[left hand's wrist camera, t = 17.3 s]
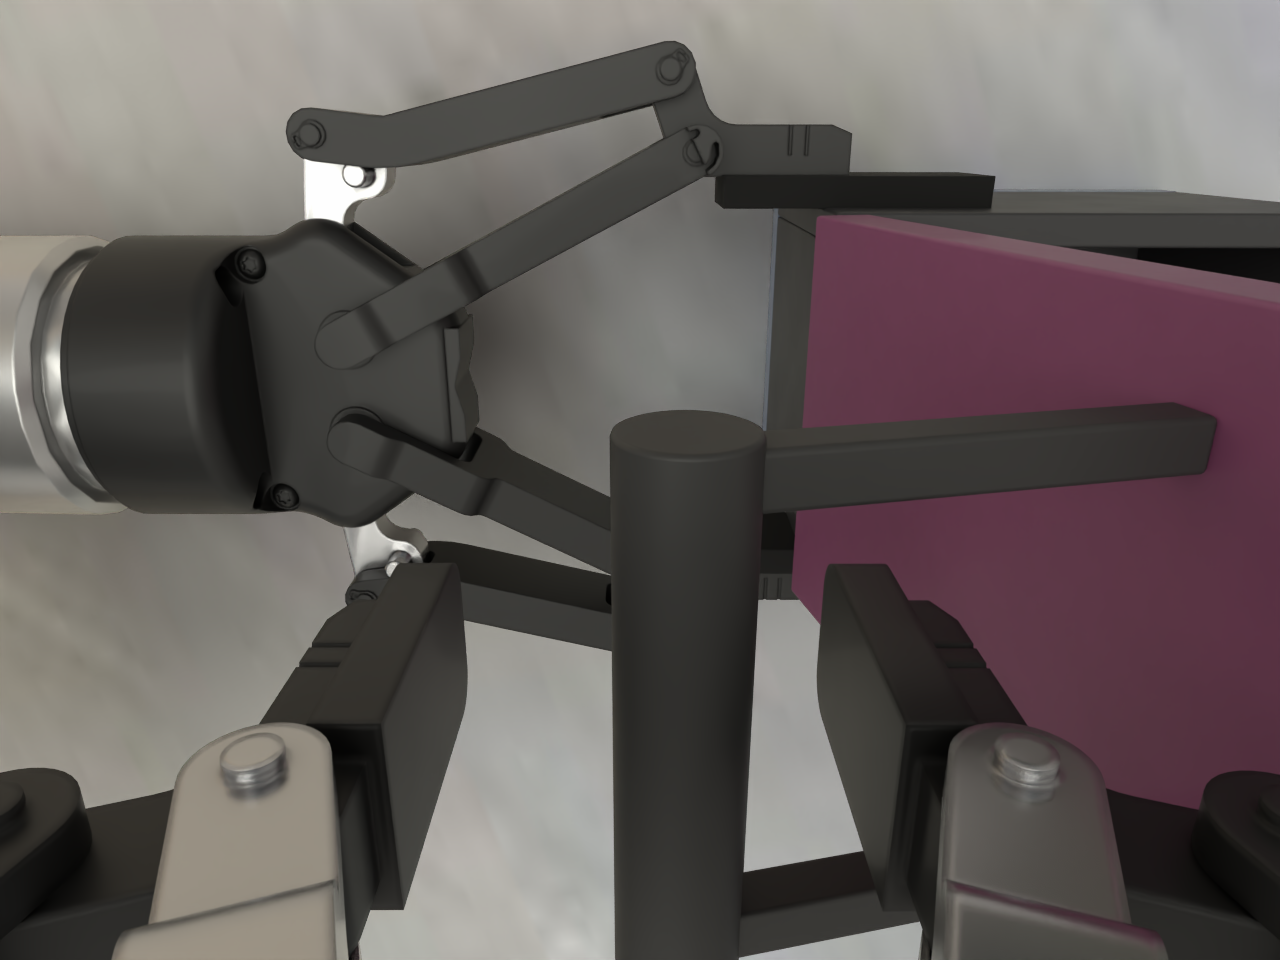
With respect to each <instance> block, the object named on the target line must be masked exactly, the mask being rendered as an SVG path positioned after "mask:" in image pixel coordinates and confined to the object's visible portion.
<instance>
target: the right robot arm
mask: <svg viewBox="0 0 1280 960" xmlns="http://www.w3.org/2000/svg"><path fill="white" fill-rule="evenodd" d="M650 106H653V107H654V111H655V114H656V117H657V120H658V123H659V126H660V129H661V132H662V135H663V139H661V140H659V141H657V142H656V143H654V144H652V145H650V146H648V147H646V148H645V149H643V150H641V151H639V152H637V153H635V154H634V155H632V156H630V157H628V158H626V159H625V160H623V161H621V162H619V163H617V164H615V165H614V166H612V167H610V168H608V169H606V170H604V171H603V172H601V173H599V174H597V175H595V176H594V177H592V178H590V179H588V180H586V181H584V182H583V183H581V184H579V185H577V186H575V187H573V188H572V189H570V190H568V191H566V192H564V193H563V194H561V195H559V196H557V197H555V198H553V199H552V200H550V201H548V202H546V203H544V204H542V205H541V206H539V207H537V208H535V209H533V210H532V211H530V212H528V213H526V214H524V215H522V216H521V217H519V218H517V219H515V220H513V221H511V222H510V223H508V224H506V225H504V226H502V227H500V228H499V229H497V230H495V231H493V232H491V233H490V234H488V235H486V236H484V237H482V238H480V239H479V240H477V241H475V242H473V243H471V244H469V245H467V246H465V247H464V248H462V249H460V250H458V251H456V252H455V253H453V254H451V255H449V256H447V257H445V258H444V259H442V260H440V261H438V262H436V263H434V264H433V265H431V266H429V267H427V268H425V269H422V268H420V267H419V266H417V265H416V264H415V263H413V262H412V261H410V260H409V259H407V258H406V257H404V256H403V255H402V254H400V253H399V252H397V251H396V250H394V249H393V248H391V247H390V246H389V245H387V244H386V243H384V242H383V241H381V240H380V239H379V238H377V237H376V236H374V235H373V234H371V233H370V232H369V231H367V230H366V229H364V228H363V227H361V226H360V225H358V224H357V223H355V222H354V215H355V211H356V209H357V207H358V205H359V204H360V203H361V202H362V201H364V200H366V199H369V198H374V197H379V196H382V195H384V194H386V193H388V192H389V191H390V189H391V188H392V187H393V185H394V182H395V177H396V167H404V166H413V165H422V164H427V163H432V162H437V161H442V160H446V159H449V158H453V157H457V156H461V155H465V154H469V153H473V152H476V151H480V150H484V149H488V148H492V147H496V146H499V145H503V144H507V143H511V142H515V141H519V140H523V139H526V138H530V137H534V136H538V135H542V134H546V133H550V132H553V131H557V130H561V129H565V128H569V127H573V126H577V125H580V124H584V123H588V122H592V121H596V120H600V119H604V118H607V117H611V116H615V115H619V114H623V113H627V112H631V111H634V110H638V109H642V108H646V107H650ZM286 135H287V140H288V143H289V145H290V146H291V148H292V150H293V151H294V152H295V153H296V154H297V155H299V156H300V157H301V158H303V159H304V211H305V220H304V221H301V222H299V223H297V224H295V225H294V226H292V227H290V228H289V229H287V230H286V231H284V232H282V233H280V234H278V235H269V236H125V237H122V238H119V239H116V240H114V241H112V242H108V241H105V240H103V239H100V238H97V237H94V236H91V235H89V236H0V513H39V514H91V515H104V514H111V513H119V512H121V511H123V510H125V509H127V508H130V509H132V510H134V511H137V512H141V513H148V514H262V513H275V512H286V511H299V512H304V513H309V514H312V515H315V516H318V517H320V518H322V519H324V520H326V521H328V522H330V523H332V524H335V525H338V526H341V527H343V529H344V533H345V537H346V542H347V546H348V550H349V554H350V558H351V562H352V566H353V570H354V574H355V578H354V580H353V581H352V583H351V584H350V586H349V588H348V590H347V592H346V594H345V602H346V604H347V606H348V605H349V604H351V603H352V602H353V601H355V600H356V599H378V597H379V595H380V593H381V592H382V590H383V588H384V586H385V585H386V583H387V581H388V579H389V578H390V576H391V574H392V572H393V571H394V569H395V567H396V566H397V564H399V563H456V565H457V566H458V569H459V574H460V581H461V592H462V605H463V618H464V620H466V621H470V622H475V623H480V624H485V625H489V626H494V627H499V628H504V629H508V630H513V631H518V632H523V633H527V634H532V635H537V636H542V637H546V638H551V639H556V640H561V641H565V642H570V643H575V644H580V645H584V646H589V647H594V648H599V649H603V650H608V651H612V604H611V576H610V575H605V574H601V573H596V572H591V571H587V570H582V569H578V568H573V567H569V566H564V565H559V564H555V563H550V562H546V561H541V560H536V559H532V558H527V557H523V556H518V555H513V554H509V553H504V552H500V551H495V550H490V549H486V548H481V547H477V546H472V545H468V544H462V543H456V542H446V541H427V540H426V538H425V537H424V536H423V533H422V532H421V531H420V530H419V529H416V528H411V529H409V528H402V527H399V526H397V525H395V524H393V523H392V522H391V521H390V520H389V519H388V517H387V516H386V513H387V512H389V511H390V510H392V509H393V508H394V507H396V506H397V505H399V504H400V503H401V502H403V501H404V500H406V499H407V498H408V497H410V496H411V495H412V494H414V493H417V494H419V495H421V496H423V497H426V498H428V499H430V500H432V501H434V502H436V503H439V504H441V505H443V506H445V507H447V508H449V509H452V510H454V511H456V512H458V513H461V514H464V515H469V516H473V515H482V516H485V517H488V518H490V519H492V520H494V521H496V522H498V523H501V524H503V525H505V526H507V527H509V528H511V529H514V530H516V531H518V532H520V533H522V534H524V535H526V536H529V537H531V538H533V539H535V540H537V541H539V542H542V543H544V544H546V545H548V546H550V547H552V548H555V549H557V550H559V551H561V552H563V553H565V554H568V555H570V556H572V557H574V558H576V559H578V560H581V561H583V562H585V563H587V564H589V565H591V566H594V567H596V568H598V569H600V570H602V571H604V572H607V573H609V574H611V507H610V497H608V496H606V495H604V494H602V493H600V492H598V491H596V490H593V489H591V488H589V487H587V486H585V485H583V484H581V483H579V482H577V481H575V480H573V479H570V478H568V477H566V476H564V475H562V474H560V473H558V472H556V471H554V470H552V469H549V468H547V467H545V466H543V465H541V464H539V463H537V462H535V461H533V460H531V459H529V458H526V457H524V456H522V455H520V454H518V453H516V452H514V451H512V450H511V449H510V448H509V447H508V446H507V445H506V443H505V442H504V441H502V440H501V439H499V438H498V437H496V436H494V435H492V434H490V433H488V432H485V431H483V430H481V429H479V428H477V427H476V425H477V424H478V422H479V410H478V395H477V393H476V390H475V387H474V384H473V381H472V378H471V375H470V372H469V363H470V359H471V354H472V349H473V344H474V333H473V317H472V315H467V313H466V310H465V308H464V306H466V305H468V304H470V303H472V302H473V301H475V300H477V299H478V298H480V297H482V296H483V295H485V294H486V293H488V292H490V291H492V290H493V289H495V288H497V287H499V286H501V285H503V284H505V283H506V282H508V281H510V280H512V279H514V278H516V277H518V276H519V275H521V274H523V273H525V272H527V271H529V270H531V269H533V268H534V267H536V266H538V265H540V264H542V263H544V262H546V261H547V260H549V259H551V258H553V257H555V256H557V255H559V254H560V253H562V252H564V251H566V250H568V249H570V248H572V247H574V246H575V245H577V244H579V243H581V242H583V241H585V240H587V239H588V238H590V237H592V236H594V235H596V234H598V233H600V232H602V231H603V230H605V229H607V228H609V227H611V226H613V225H615V224H616V223H618V222H620V221H622V220H624V219H626V218H628V217H630V216H631V215H633V214H635V213H637V212H639V211H641V210H643V209H644V208H646V207H648V206H650V205H652V204H654V203H656V202H657V201H659V200H661V199H663V198H665V197H667V196H669V195H671V194H672V193H674V192H676V191H678V190H680V189H682V188H684V187H685V186H687V185H689V184H691V183H693V182H695V181H697V180H699V179H700V178H702V177H716V180H715V202H716V203H717V204H719V205H720V206H721V207H722V208H724V209H825V208H991V206H992V198H993V191H994V183H995V176H989V175H979V174H969V173H959V172H849V166H850V154H851V141H852V133H850V132H848V131H845V130H843V129H841V128H839V127H836V126H834V125H736V124H728V123H726V122H724V121H721V120H720V119H719V118H717V117H716V116H715V115H714V114H713V113H712V111H711V110H710V109H709V107H708V104H707V102H706V99H705V96H704V93H703V90H702V87H701V83H700V80H699V77H698V74H697V70H696V62H695V60H694V57H693V55H692V52H691V51H690V50H689V49H688V48H687V47H686V46H685V45H683V44H681V43H679V42H676V41H664V42H660V43H657V44H653V45H649V46H645V47H641V48H638V49H634V50H630V51H626V52H623V53H619V54H615V55H611V56H608V57H604V58H600V59H596V60H592V61H589V62H585V63H581V64H577V65H574V66H570V67H566V68H562V69H558V70H555V71H551V72H547V73H543V74H540V75H536V76H532V77H528V78H525V79H521V80H517V81H513V82H509V83H506V84H502V85H498V86H494V87H491V88H487V89H483V90H479V91H476V92H472V93H468V94H464V95H460V96H457V97H453V98H449V99H445V100H442V101H438V102H434V103H430V104H426V105H423V106H419V107H415V108H411V109H408V110H404V111H400V112H396V113H393V114H389V115H385V116H381V115H373V114H365V113H357V112H349V111H340V110H330V109H320V108H301V109H299V110H298V111H296V112H294V113H293V114H292V116H291V117H290V119H289V120H288V122H287V128H286ZM794 543H795V534H794V532H793V529H792V527H791V524H790V522H789V519H788V516H787V514H786V512H780V513H769V514H763V520H762V539H761V557H760V576H759V594H758V600H763V599H766V600H777V599H780V600H799V598H798V597H797V596H796V595H795V594H794V592H793V591H792V589H791V586H792V572H793V557H794Z"/></svg>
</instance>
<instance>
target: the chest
mask: <svg viewBox="0 0 1280 960" xmlns="http://www.w3.org/2000/svg"><path fill="white" fill-rule="evenodd" d="M828 215H873V216H879V217H885V218H891V219H897V220H903V221H909V222H915V223H921V224H927V225H933V226H939V227H945V228H950V229H956V230H962V231H968V232H974V233H980V234H986V235H992V236H998V237H1004V238H1010V239H1016V240H1022V241H1028V242H1034V243H1040V244H1046V245H1052V246H1058V247H1064V248H1070V249H1076V250H1082V251H1088V252H1094V253H1100V254H1106V255H1112V256H1118V257H1124V258H1130V259H1136V260H1142V261H1148V262H1154V263H1160V264H1166V265H1172V266H1178V267H1184V268H1190V269H1196V270H1202V271H1208V272H1214V273H1220V274H1226V275H1232V276H1238V277H1244V278H1250V279H1256V280H1262V281H1268V282H1274V283H1280V202H1271V201H1261V200H1251V199H1240V198H1230V197H1220V196H1210V195H1200V194H1189V193H1179V192H1175V191H1165V190H994V191H993V198H992V206H991V208H825V209H774V214H773V234H772V253H771V272H770V291H769V310H768V329H767V349H766V368H765V387H764V406H763V425H762V429H763V431H769V430H783V429H798V428H802V426H803V411H804V397H805V382H806V368H807V353H808V339H809V324H810V309H811V295H812V280H813V266H814V251H815V237H816V222H817V217H819V216H828ZM786 514H787V516H788V519H789V522H790V524H791V527H792V529H793V532H794V534H795V528H796V514H797V511H791V512H786Z"/></svg>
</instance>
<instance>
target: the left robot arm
mask: <svg viewBox="0 0 1280 960" xmlns="http://www.w3.org/2000/svg"><path fill="white" fill-rule="evenodd" d="M299 663H300V665H299V667H296V668H295V670H294V671H293V673H292V674H291V676H290V677H289V679H288V681H287V682H286V684H285V685H284V687H283V688H282V690H281V691H280V693H279V694H278V696H277V697H276V699H275V701H274V702H273V704H272V705H271V707H270V708H269V710H268V711H267V713H266V714H265V716H264V717H263V719H262V720H261V722H260V724H259V725H255V726H251V727H246V728H243V729H240V730H237V731H234V732H231V733H229V734H227V735H224V736H222V737H220V738H218V739H216V740H214V741H212V742H210V743H209V744H207V745H206V746H204V747H203V748H201V749H200V750H199V751H197V752H196V753H195V754H194V755H193V756H192V757H190V758H189V760H188V761H187V762H186V763H185V764H184V765H183V767H182V768H181V770H180V772H179V773H178V776H177V779H176V782H175V786H174V789H173V790H170V791H166V792H162V793H158V794H154V795H150V796H145V797H140V798H135V799H131V800H126V801H121V802H116V803H112V804H107V805H102V806H97V807H92V808H88V809H85V805H84V802H83V798H82V794H81V791H80V787H79V785H78V783H77V781H76V780H75V779H74V778H73V777H72V776H71V775H69V774H67V773H65V772H63V771H59V770H56V769H49V768H26V769H17V770H12V771H7V772H2V773H0V960H362V957H361V950H360V943H359V940H360V938H361V935H362V932H363V929H364V926H365V924H366V921H367V918H368V915H369V912H370V910H404V907H405V904H406V900H407V897H408V894H409V890H410V887H411V884H412V881H413V877H414V874H415V871H416V868H417V864H418V861H419V858H420V855H421V851H422V848H423V845H424V842H425V838H426V835H427V832H428V829H429V825H430V822H431V819H432V816H433V812H434V809H435V806H436V803H437V799H438V796H439V793H440V790H441V786H442V783H443V780H444V776H445V773H446V770H447V767H448V763H449V760H450V757H451V754H452V750H453V747H454V744H455V741H456V737H457V734H458V731H459V728H460V724H461V721H462V718H463V714H464V710H465V704H466V696H467V678H468V674H467V656H466V643H465V631H464V618H463V605H462V592H461V581H460V574H459V569H458V566H457V565H456V563H399V564H397V566H396V567H395V569H394V571H393V572H392V574H391V576H390V578H389V579H388V581H387V583H386V585H385V586H384V588H383V590H382V592H381V593H380V595H379V597H378V599H356V600H355V601H353V602H352V603H351V604H349V605H348V606H346V607H345V608H343V609H342V610H340V611H339V612H337V613H336V614H335V615H333V616H332V617H330V618H329V619H327V621H326V622H325V624H324V625H323V627H322V628H321V630H320V631H319V633H318V634H317V636H316V638H315V639H314V641H313V642H312V647H309V648H308V650H307V651H306V653H305V654H304V656H303V658H302V659H301V661H300V662H299ZM817 692H818V702H819V708H820V713H821V717H822V720H823V723H824V726H825V730H826V733H827V736H828V739H829V742H830V746H831V749H832V752H833V755H834V758H835V761H836V765H837V768H838V771H839V774H840V777H841V781H842V784H843V787H844V790H845V793H846V796H847V800H848V803H849V806H850V809H851V812H852V816H853V819H854V822H855V825H856V828H857V831H858V835H859V838H860V841H861V844H862V847H863V851H864V854H865V857H866V860H867V863H868V866H869V870H870V873H871V876H872V879H873V882H874V886H875V889H876V892H877V895H878V898H879V901H880V905H881V908H882V911H916V912H917V915H918V918H919V920H920V923H921V926H922V929H923V930H922V937H921V943H920V950H919V957H918V960H1280V775H1279V774H1274V773H1269V772H1261V771H1244V770H1239V771H1231V772H1226V773H1223V774H1219V775H1217V776H1215V777H1214V778H1212V779H1211V780H1210V781H1209V782H1208V783H1207V784H1206V786H1205V789H1204V791H1203V795H1202V798H1201V802H1200V806H1199V810H1197V809H1193V808H1188V807H1183V806H1178V805H1173V804H1169V803H1164V802H1159V801H1154V800H1150V799H1145V798H1140V797H1135V796H1131V795H1127V794H1123V793H1119V792H1116V791H1113V790H1110V789H1107V788H1106V786H1105V782H1104V779H1103V776H1102V773H1101V772H1100V770H1099V768H1098V767H1097V765H1096V764H1095V763H1094V762H1093V761H1092V760H1091V758H1090V757H1088V756H1087V755H1086V754H1085V753H1084V752H1083V751H1081V750H1080V749H1079V748H1077V747H1076V746H1074V745H1073V744H1071V743H1070V742H1068V741H1066V740H1064V739H1062V738H1060V737H1058V736H1056V735H1053V734H1051V733H1049V732H1046V731H1043V730H1040V729H1037V728H1034V727H1029V726H1028V725H1027V724H1026V722H1025V721H1024V719H1023V718H1022V716H1021V715H1020V713H1019V712H1018V710H1017V709H1016V707H1015V706H1014V704H1013V703H1012V701H1011V700H1010V698H1009V697H1008V695H1007V694H1006V692H1005V691H1004V689H1003V688H1002V686H1001V685H1000V683H999V682H998V680H997V678H996V677H995V675H994V674H993V672H992V671H991V669H990V668H987V667H986V662H985V660H984V659H983V657H982V656H981V654H980V653H979V651H978V650H977V648H974V647H973V642H972V641H971V639H970V638H969V636H968V635H967V633H966V632H965V630H964V629H963V627H962V626H961V624H960V623H959V621H958V620H957V619H955V618H954V617H952V616H951V615H949V614H948V613H947V612H945V611H944V610H942V609H941V608H939V607H938V606H936V605H935V604H933V603H932V602H930V601H929V600H908V599H907V597H906V595H905V594H904V592H903V590H902V588H901V587H900V585H899V583H898V582H897V580H896V578H895V576H894V575H893V573H892V571H891V569H890V568H889V566H888V565H887V564H829V565H828V567H827V569H826V573H825V578H824V588H823V601H822V613H821V625H820V638H819V650H818V663H817Z"/></svg>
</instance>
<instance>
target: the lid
mask: <svg viewBox="0 0 1280 960" xmlns="http://www.w3.org/2000/svg"><path fill="white" fill-rule="evenodd" d="M610 507H611V604H612V700H613V796H614V892H615V960H739V957H744V956H749V955H754V954H759V953H764V952H769V951H774V950H779V949H784V948H789V947H794V946H799V945H804V944H809V943H814V942H819V941H824V940H829V939H834V938H839V937H844V936H849V935H854V934H859V933H864V932H869V931H874V930H879V929H884V928H889V927H894V926H899V925H904V924H909V923H914V922H919V921H920V920H919V918H918V915H917V912H916V911H882V908H881V905H880V901H879V898H878V895H877V892H876V889H875V886H874V882H873V879H872V876H871V873H870V870H869V866H868V863H867V860H866V857H865V854H864V851H860V852H855V853H849V854H844V855H838V856H833V857H827V858H821V859H816V860H810V861H805V862H799V863H793V864H788V865H782V866H777V867H771V868H766V869H760V870H754V871H749V872H743V870H744V852H745V833H746V815H747V797H748V778H749V760H750V741H751V723H752V705H753V686H754V668H755V649H756V631H757V612H758V594H759V576H760V557H761V539H762V520H763V514H769V513H780V512H791V511H797V514H796V528H795V543H794V557H793V572H792V586H791V589H792V591H793V592H794V594H795V595H796V596H797V597H798V598H799V600H800V601H801V602H802V603H803V604H804V606H805V607H806V608H807V609H808V610H809V612H810V613H811V614H812V615H813V616H814V618H815V619H816V620H817V621H818V623H819V624H820V625H821V613H822V601H823V588H824V578H825V573H826V569H827V567H828V565H829V564H887V565H888V566H889V568H890V569H891V571H892V573H893V575H894V576H895V578H896V580H897V582H898V583H899V585H900V587H901V588H902V590H903V592H904V594H905V595H906V597H907V599H908V600H929V601H930V602H932V603H933V604H935V605H936V606H938V607H939V608H941V609H942V610H944V611H945V612H947V613H948V614H949V615H951V616H952V617H954V618H955V619H957V620H958V621H959V623H960V624H961V626H962V627H963V629H964V630H965V632H966V633H967V635H968V636H969V638H970V639H971V641H972V642H973V647H974V648H977V650H978V651H979V653H980V654H981V656H982V657H983V659H984V660H985V662H986V667H987V668H990V669H991V671H992V672H993V674H994V675H995V677H996V678H997V680H998V682H999V683H1000V685H1001V686H1002V688H1003V689H1004V691H1005V692H1006V694H1007V695H1008V697H1009V698H1010V700H1011V701H1012V703H1013V704H1014V706H1015V707H1016V709H1017V710H1018V712H1019V713H1020V715H1021V716H1022V718H1023V719H1024V721H1025V722H1026V724H1027V725H1028V726H1029V727H1034V728H1037V729H1040V730H1043V731H1046V732H1049V733H1051V734H1053V735H1056V736H1058V737H1060V738H1062V739H1064V740H1066V741H1068V742H1070V743H1071V744H1073V745H1074V746H1076V747H1077V748H1079V749H1080V750H1081V751H1083V752H1084V753H1085V754H1086V755H1087V756H1088V757H1090V758H1091V760H1092V761H1093V762H1094V763H1095V764H1096V765H1097V767H1098V768H1099V770H1100V772H1101V773H1102V776H1103V779H1104V782H1105V786H1106V788H1107V789H1110V790H1113V791H1116V792H1119V793H1123V794H1127V795H1131V796H1135V797H1140V798H1145V799H1150V800H1154V801H1159V802H1164V803H1169V804H1173V805H1178V806H1183V807H1188V808H1193V809H1197V810H1199V806H1200V802H1201V798H1202V795H1203V791H1204V789H1205V786H1206V784H1207V783H1208V782H1209V781H1210V780H1211V779H1212V778H1214V777H1215V776H1217V775H1219V774H1223V773H1226V772H1231V771H1239V770H1244V771H1261V772H1269V773H1274V774H1279V775H1280V283H1274V282H1268V281H1262V280H1256V279H1250V278H1244V277H1238V276H1232V275H1226V274H1220V273H1214V272H1208V271H1202V270H1196V269H1190V268H1184V267H1178V266H1172V265H1166V264H1160V263H1154V262H1148V261H1142V260H1136V259H1130V258H1124V257H1118V256H1112V255H1106V254H1100V253H1094V252H1088V251H1082V250H1076V249H1070V248H1064V247H1058V246H1052V245H1046V244H1040V243H1034V242H1028V241H1022V240H1016V239H1010V238H1004V237H998V236H992V235H986V234H980V233H974V232H968V231H962V230H956V229H950V228H945V227H939V226H933V225H927V224H921V223H915V222H909V221H903V220H897V219H891V218H885V217H879V216H873V215H828V216H819V217H817V222H816V237H815V251H814V266H813V280H812V295H811V309H810V324H809V339H808V353H807V368H806V382H805V397H804V411H803V426H802V428H798V429H783V430H769V431H763V429H762V428H761V427H759V426H758V425H756V424H755V423H753V422H751V421H748V420H746V419H743V418H739V417H736V416H732V415H728V414H723V413H717V412H709V411H697V410H672V411H660V412H652V413H647V414H642V415H638V416H635V417H631V418H628V419H626V420H623V421H622V422H620V423H618V424H617V425H615V427H614V428H613V430H612V432H611V434H610Z"/></svg>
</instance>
